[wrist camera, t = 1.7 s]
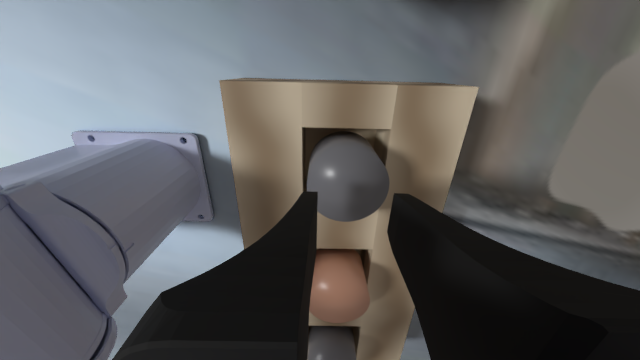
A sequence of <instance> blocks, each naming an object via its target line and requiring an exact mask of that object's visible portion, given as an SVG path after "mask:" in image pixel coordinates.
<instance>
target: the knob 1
mask: <svg viewBox="0 0 640 360" xmlns="http://www.w3.org/2000/svg"><path fill="white" fill-rule="evenodd" d="M389 184H390V182H389V175H388V172H387V169H386V167H385V166H384V164H383V162H382V161H381V160H380V158H379V157H378V155H377V154H376V152H375V151H374V149H373V148H372V146H371V145H370V143H369V142H368V141H367V140H366V139H365V138H363V137H362V136H360V135H359V134H356V133H354V132H349V131H339V132H334V133H331V134H329V135H327V136H325V137H323V138H322V139H321V140H320V141H319V142H318V143H317V144H316V145H315V147H314V148H313V150H312V152H311V155H310V161H309V169H308V178H307V191H309V192H318V205H317V211H318V212H319V213H320V214H322V215H323V216H325V217H327V218H329V219H332V220H335V221H341V222H351V221H357V220H360V219H363V218H366V217H368V216H369V215H371V214H373V213H374V212H375V211H376V210H378V208H379V207H380V206H381V205H382V204H383V202H384V201H385V199H386V197H387V194H388V191H389Z"/></svg>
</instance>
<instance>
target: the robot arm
mask: <svg viewBox="0 0 640 360" xmlns="http://www.w3.org/2000/svg"><path fill="white" fill-rule="evenodd" d="M71 136H72V139H73V141H74V144H75V146H72V147H68V148H65V149H62V150H58V151H55V152H52V153H49V154H45V155H42V156H39V157H36V158H32V159H29V160H26V161H23V162H19V163H16V164H13V165H10V166H6V167H3V168H0V360H107V359H108V357H109V355H110V353H111V351H112V349H113V347H114V344H115V341H116V338H117V325H116V321H115V320H114V319H113V317H111V316H112V315H113V313H114V312H115V311H116V310H117V309H118V307H119V306H120V305H121V304H122V303H123V302H124V300H125V299H126V298H127V295H126V293H125V291H124V289H123V284H124V283H125V282H126V281H127V280H128V278H129V277H130V276H131V275H132V274H133V273H134V272H135V271H136V270H137V269H138V268H139V267H140V265H141V264H142V263H143V262H144V261H145V260H146V259H147V258H148V257H149V256H150V255H151V253H152V252H153V251H154V250H155V249H156V248H157V247H158V246H159V245H160V244H161V243H162V242H163V240H164V239H165V238H166V237H167V236H168V235H169V234H170V233H171V232H172V231H173V230H174V228H175V227H176V226H177V225H178V224H179V223H180V222H181V221H211V220H212V219H213V217H214V214H213V209H212V204H211V199H210V194H209V189H208V184H207V179H206V174H205V169H204V164H203V159H202V155H201V150H200V145H199V140H198V137H197V136H196V135H195V134H192V133H163V132H120V131H75V132H73V133H72V135H71ZM92 136H93V137H94V138H95V140H94V139H93V137H92ZM183 137H184V138H185V139H186V140H187V142H184V141H183ZM317 205H318V192H309V191H304V192H303V193H301V195H300V196H299V198H298V199H297V201H296V202H295V203H294V205H293V206H292V207H291V208H290V210H289V211H288V212H287V213H286V214H285V215H284V217H283V218H282V219H281V220H280V221H279V222H278V223H277V224H276V225H275V226H274V227H273V228H272V229H271V230H269V231H268V232H267V233H266V234H265V235H264V236H262V237H261V238H260V239H259V240H258V241H256V242H255V243H253V244H252V245H250V246H249V247H247V248H246V249H244V250H243V251H242V252H240V253H239V254H237V255H235V256H234V257H232V258H230V259H229V260H227V261H225V262H224V263H222V264H220V265H218V266H216V267H214V268H213V269H211V270H209V271H207V272H205V273H203V274H201V275H199V276H197V277H194V278H192V279H190V280H188V281H186V282H184V283H181V284H179V285H177V286H175V287H173V288H171V289H168V290H166V291H163V292H162V293H161V294H160V295H159V296H158V298H157V299H156V300H155V301H154V302H153V304H152V305H151V306H150V307H149V309H148V310H147V311H146V313H145V314H144V316H143V317H142V318H141V320H140V321H139V323H138V324H137V326H136V327H135V328H134V330H133V331H132V333H131V334H130V335H129V337H128V338H127V340H126V341H125V342H124V344H123V345H122V347H121V348H120V350H119V351H118V352H117V354H116V355H115V357H114V358H113V359H112V360H307V355H308V330H309V307H310V297H311V289H312V281H313V274H314V266H315V258H316V250H317ZM200 214H201V215H203V216H204V217H202V216H201V215H200ZM387 234H388V238H389V242H390V246H391V249H392V253H393V255H394V258H395V260H396V262H397V265H398V267H399V270H400V272H401V274H402V277H403V279H404V281H405V284H406V286H407V289H408V291H409V293H410V296H411V298H412V301H413V303H414V306H415V309H416V311H417V314H418V318H419V321H420V324H421V327H422V331H423V334H424V337H425V341H426V344H427V348H428V351H429V355H430V358H431V360H640V291H639V290H635V289H631V288H628V287H624V286H621V285H617V284H613V283H610V282H606V281H603V280H600V279H597V278H593V277H590V276H587V275H584V274H581V273H578V272H575V271H572V270H569V269H566V268H563V267H560V266H557V265H554V264H551V263H548V262H546V261H543V260H540V259H538V258H535V257H533V256H530V255H527V254H525V253H522V252H520V251H517V250H515V249H512V248H510V247H508V246H505V245H503V244H501V243H499V242H497V241H494V240H492V239H490V238H488V237H486V236H483V235H481V234H479V233H477V232H475V231H473V230H472V229H470V228H468V227H466V226H464V225H462V224H460V223H458V222H457V221H455V220H453V219H451V218H450V217H448V216H446V215H444V214H443V213H441V212H439V211H438V210H436V209H434V208H433V207H431V206H429V205H428V204H426V203H425V202H423V201H421V200H419V199H418V198H416V197H414V196H412V195H410V194H404V193H394V195H393V201H392V207H391V212H390V218H389V223H388V229H387Z"/></svg>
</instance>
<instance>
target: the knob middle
mask: <svg viewBox="0 0 640 360" xmlns="http://www.w3.org/2000/svg"><path fill="white" fill-rule="evenodd" d="M369 305H370V296H369V292H368V287H367V283H366V278H365V273H364V269H363V264H362V260H361V257H360V255H359V254H358V252H357V251H356V250H354V249H323V248H319V249H318V250H316V258H315V266H314V274H313V281H312V289H311V297H310V307H309V311H310V312H311V313H312V314H313V315H314V316H315V317H317V318H318V319H320V320H323V321H326V322H330V323H345V322H349V321H352V320H355V319H357V318H359V317H360V316H362V315H363V314H364V313H365V312H366V311H367V309H368V307H369Z"/></svg>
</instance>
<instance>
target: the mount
mask: <svg viewBox="0 0 640 360" xmlns="http://www.w3.org/2000/svg"><path fill="white" fill-rule="evenodd" d="M220 88H221V94H222V101H223V108H224V115H225V122H226V128H227V135H228V142H229V149H230V156H231V162H232V169H233V176H234V183H235V190H236V196H237V203H238V210H239V217H240V224H241V230H242V237H243V244H244V249H246V248H247V247H249V246H250V245H252V244H253V243H255V242H256V241H258V240H259V239H260V238H261V237H262V236H264V235H265V234H266V233H267V232H268V231H269V230H271V229H272V228H273V227H274V226H275V225H276V224H277V223H278V222H279V221H280V220H281V219H282V218H283V217H284V215H285V214H286V213H287V212H288V211H289V210H290V208H291V207H292V206H293V205H294V203H295V202H296V201H297V199H298V198H299V196H300V195H301V193H303V192H304V191H307V178H308V169H309V161H310V155H311V152H312V150H313V148H314V147H315V145H316V144H317V143H318V142H319V141H320V140H321V139H322V138H323V137H325V136H327V135H329V134H331V133H334V132H339V131H349V132H354V133H356V134H359V135H360V136H362V137H363V138H365V139H366V140H367V141H368V142H369V143H370V145H371V146H372V148H373V149H374V151H375V152H376V154H377V155H378V157H379V158H380V160H381V161H382V162H383V164H384V166H385V167H386V169H387V172H388V175H389V182H390V184H389V191H388V194H387V197H386V199H385V201H384V202H383V204H382V205H381V206H380V207H379V208H378V210H376V211H375V212H374V213H373V214H371V215H369V216H368V217H366V218H363V219H360V220H357V221H351V222H341V221H335V220H332V219H329V218H327V217H325V216H323V215H322V214H320V213H319V212H318V211H317V250H318V249H319V248H323V249H354V250H356V251H357V252H358V254H359V255H360V257H361V260H362V264H363V269H364V273H365V278H366V283H367V287H368V292H369V296H370V305H369V307H368V309H367V311H366V312H365V313H364V314H363V315H362V316H360V317H359V318H357V319H355V320H352V321H349V322H345V323H330V322H326V321H323V320H320V319H318V318H317V317H315V316H314V315H313V314H312V313H311V312H310V311H309V329H310V327H311V326H351V327H352V329H353V336H354V344H355V352H356V360H400V357H401V353H402V350H403V346H404V343H405V340H406V336H407V333H408V329H409V326H410V322H411V319H412V315H413V312H414V309H415V306H414V303H413V301H412V298H411V296H410V293H409V291H408V289H407V286H406V284H405V281H404V279H403V277H402V274H401V272H400V270H399V267H398V265H397V262H396V260H395V258H394V255H393V253H392V249H391V246H390V242H389V238H388V234H387V229H388V223H389V218H390V212H391V207H392V201H393V195H394V193H404V194H410V195H412V196H414V197H416V198H418V199H419V200H421V201H423V202H425V203H426V204H428V205H429V206H431V207H433V208H434V209H436V210H438V211H439V212H441V213H442V212H443V209H444V205H445V202H446V199H447V195H448V192H449V188H450V185H451V181H452V178H453V174H454V171H455V168H456V164H457V161H458V157H459V154H460V150H461V147H462V143H463V140H464V137H465V133H466V130H467V126H468V123H469V119H470V116H471V113H472V109H473V106H474V102H475V99H476V95H477V92H478V88H479V87H474V86H464V85H455V84H445V83H422V82H382V81H343V80H303V79H264V78H239V79H229V80H220ZM308 337H309V330H308ZM307 359H308V355H307Z"/></svg>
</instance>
